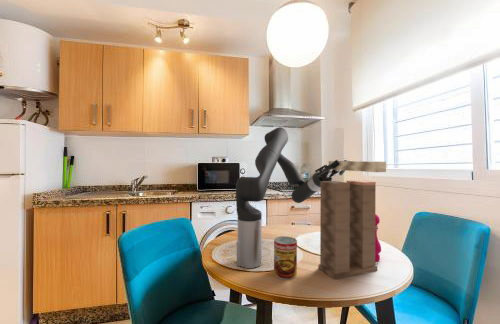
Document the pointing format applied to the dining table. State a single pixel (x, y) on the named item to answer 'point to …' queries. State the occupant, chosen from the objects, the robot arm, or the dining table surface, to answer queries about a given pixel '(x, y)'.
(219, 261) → the dining table surface
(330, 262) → the walnut rack
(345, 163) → the birch bar
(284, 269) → the canned food
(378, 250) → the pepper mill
